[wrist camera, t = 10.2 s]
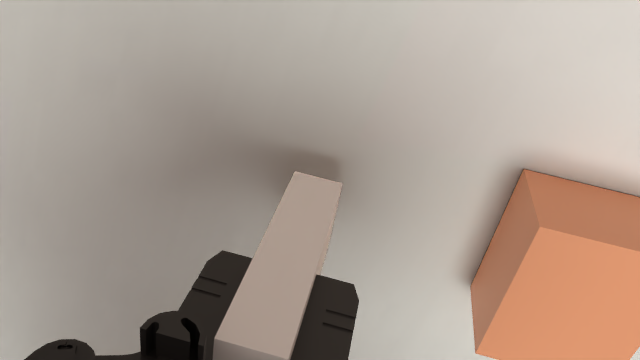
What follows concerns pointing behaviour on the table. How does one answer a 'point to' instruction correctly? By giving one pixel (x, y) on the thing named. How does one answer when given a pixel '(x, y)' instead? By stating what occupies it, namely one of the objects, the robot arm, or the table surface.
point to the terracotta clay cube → (560, 275)
